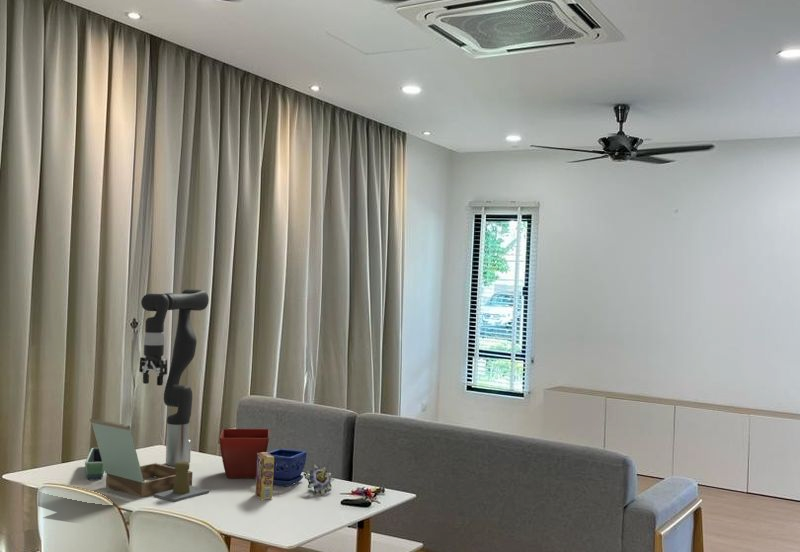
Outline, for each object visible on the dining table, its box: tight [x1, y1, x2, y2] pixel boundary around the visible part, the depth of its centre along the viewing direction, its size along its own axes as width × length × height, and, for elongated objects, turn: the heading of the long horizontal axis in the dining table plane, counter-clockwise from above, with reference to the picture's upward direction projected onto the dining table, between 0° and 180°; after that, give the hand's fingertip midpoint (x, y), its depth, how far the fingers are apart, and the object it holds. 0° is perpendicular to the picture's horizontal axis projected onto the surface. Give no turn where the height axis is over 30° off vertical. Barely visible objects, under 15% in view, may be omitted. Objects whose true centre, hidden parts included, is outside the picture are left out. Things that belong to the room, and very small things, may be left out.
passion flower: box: [303, 464, 335, 495], centre depth 287 cm, size 11×11×12 cm
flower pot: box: [267, 448, 307, 487], centre depth 298 cm, size 13×13×12 cm
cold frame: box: [105, 462, 193, 498], centre depth 288 cm, size 22×22×5 cm
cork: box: [173, 461, 191, 494], centre depth 278 cm, size 6×6×11 cm
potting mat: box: [153, 485, 210, 503], centre depth 278 cm, size 16×11×1 cm
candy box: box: [255, 451, 274, 501], centre depth 278 cm, size 9×4×15 cm, turn 26°
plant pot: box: [219, 428, 270, 479], centre depth 309 cm, size 19×19×17 cm
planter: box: [84, 447, 105, 481], centre depth 307 cm, size 28×7×7 cm, turn 17°
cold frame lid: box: [89, 418, 145, 483], centre depth 276 cm, size 22×22×1 cm
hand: (152, 384), depth 304 cm, fingers open, 8 cm apart
